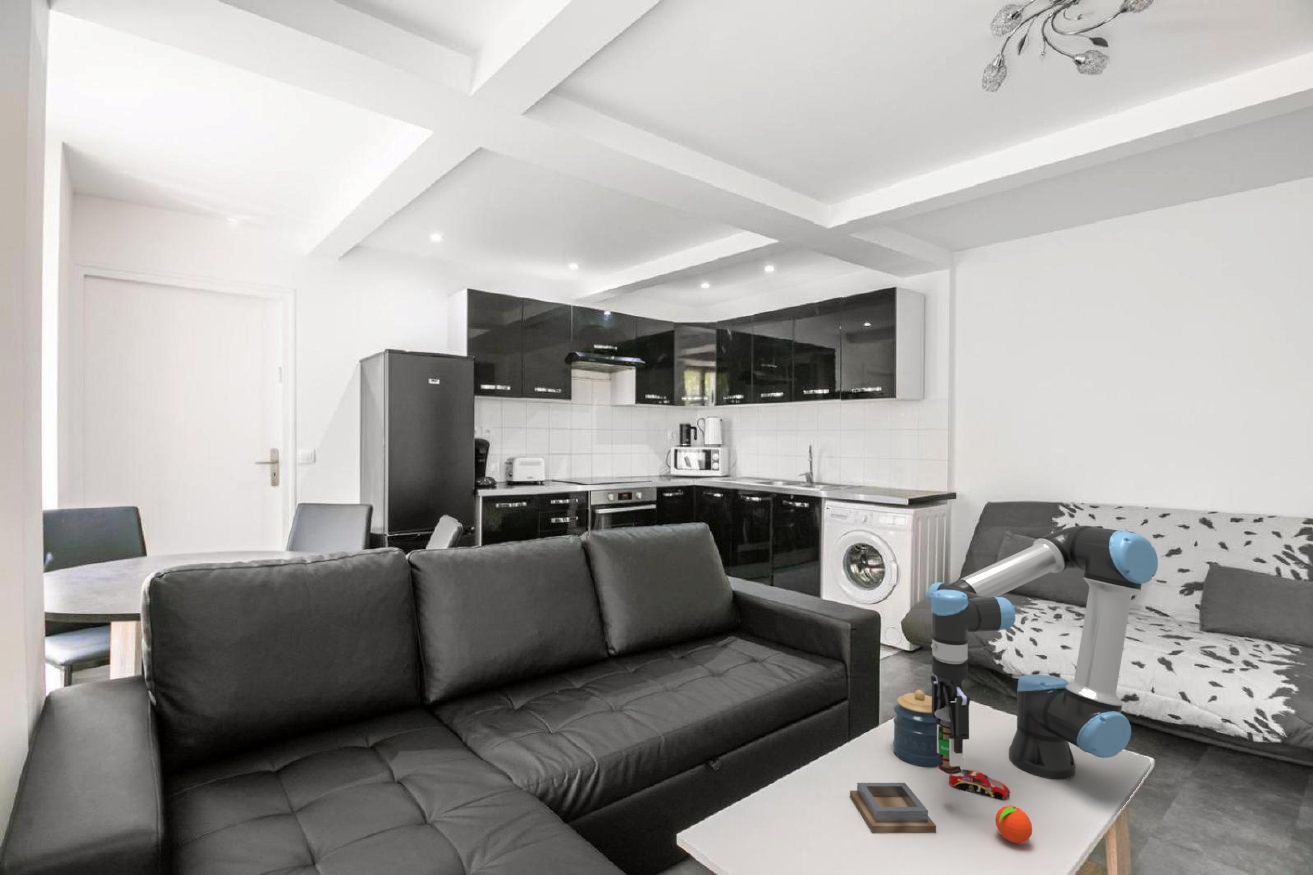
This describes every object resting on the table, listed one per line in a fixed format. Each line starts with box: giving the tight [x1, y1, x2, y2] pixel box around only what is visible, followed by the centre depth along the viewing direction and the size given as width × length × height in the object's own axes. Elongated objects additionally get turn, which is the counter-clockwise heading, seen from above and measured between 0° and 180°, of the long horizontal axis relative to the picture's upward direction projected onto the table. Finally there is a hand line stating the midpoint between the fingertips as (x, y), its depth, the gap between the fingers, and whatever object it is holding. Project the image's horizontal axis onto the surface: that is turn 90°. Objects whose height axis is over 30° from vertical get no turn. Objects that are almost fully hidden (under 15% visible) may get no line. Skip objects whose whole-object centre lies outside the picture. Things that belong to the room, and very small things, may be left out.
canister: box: [892, 689, 943, 767], centre depth 173 cm, size 13×13×18 cm
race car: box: [948, 768, 1011, 801], centre depth 156 cm, size 13×5×4 cm, turn 61°
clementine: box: [995, 805, 1033, 844], centre depth 136 cm, size 8×7×7 cm
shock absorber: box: [935, 706, 962, 776], centre depth 148 cm, size 6×6×15 cm
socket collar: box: [856, 782, 929, 823], centre depth 145 cm, size 12×12×2 cm
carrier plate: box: [849, 790, 937, 834], centre depth 145 cm, size 14×14×2 cm
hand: (949, 758), depth 148 cm, fingers closed on shock absorber, 5 cm apart
